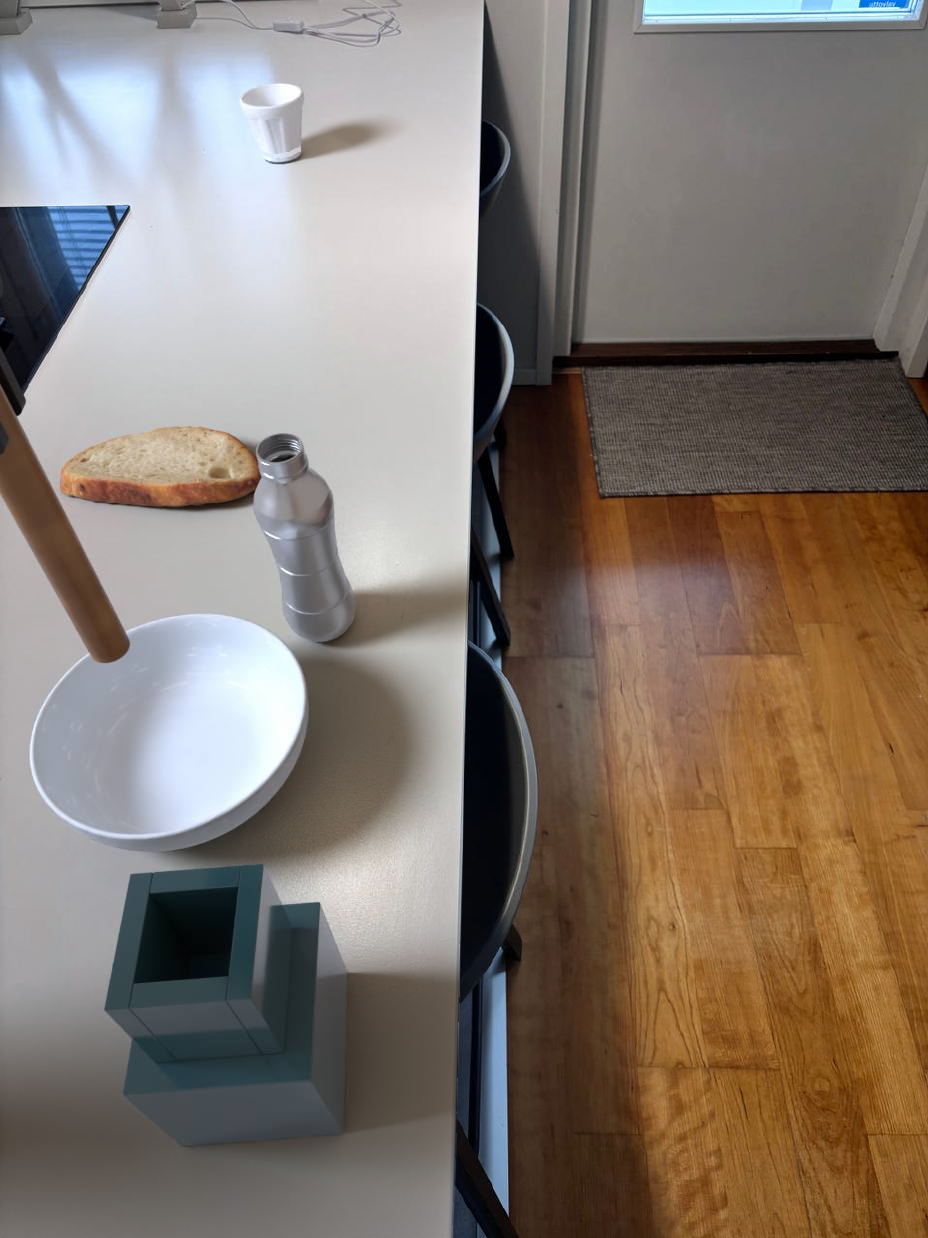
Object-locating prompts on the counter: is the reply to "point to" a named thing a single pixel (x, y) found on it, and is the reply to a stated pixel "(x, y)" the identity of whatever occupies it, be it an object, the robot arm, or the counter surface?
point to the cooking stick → (56, 543)
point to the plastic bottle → (302, 540)
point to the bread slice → (163, 469)
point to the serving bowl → (172, 733)
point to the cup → (275, 118)
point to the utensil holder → (229, 1008)
